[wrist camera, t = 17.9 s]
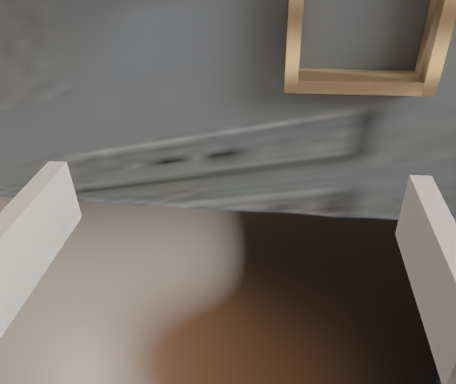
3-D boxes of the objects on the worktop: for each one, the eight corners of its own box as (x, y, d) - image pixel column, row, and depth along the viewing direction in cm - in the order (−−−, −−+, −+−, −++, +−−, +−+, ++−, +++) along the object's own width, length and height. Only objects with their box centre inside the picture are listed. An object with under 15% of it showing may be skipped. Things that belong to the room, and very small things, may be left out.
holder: (424, 82, 41) (435, 96, 38) (284, 80, 42) (283, 93, 39) (465, -84, 33) (482, -83, 31) (292, -81, 35) (293, -79, 32)
